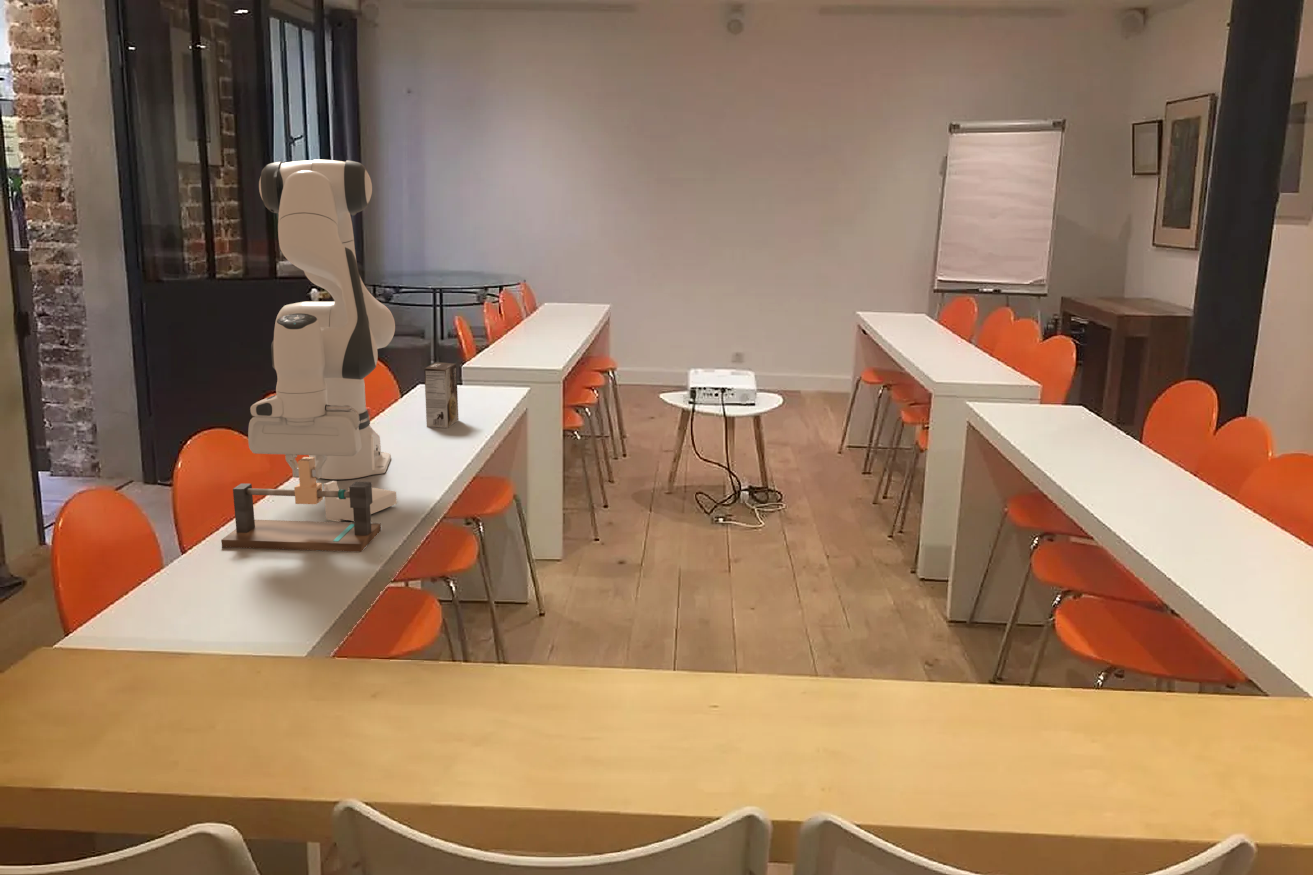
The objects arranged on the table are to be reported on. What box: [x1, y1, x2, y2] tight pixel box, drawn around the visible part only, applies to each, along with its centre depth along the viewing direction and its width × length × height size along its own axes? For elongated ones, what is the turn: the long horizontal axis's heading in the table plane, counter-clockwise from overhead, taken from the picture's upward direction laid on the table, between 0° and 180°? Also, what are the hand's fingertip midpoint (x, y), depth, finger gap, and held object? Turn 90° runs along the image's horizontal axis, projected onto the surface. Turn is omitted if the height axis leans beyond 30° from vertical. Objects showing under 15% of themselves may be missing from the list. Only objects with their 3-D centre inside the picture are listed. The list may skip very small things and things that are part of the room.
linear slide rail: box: [221, 481, 382, 553], centre depth 206 cm, size 12×26×11 cm, turn 86°
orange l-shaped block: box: [293, 456, 324, 505], centre depth 205 cm, size 3×4×8 cm
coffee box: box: [423, 361, 460, 429], centre depth 298 cm, size 9×6×16 cm
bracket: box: [323, 480, 398, 522], centre depth 223 cm, size 13×7×8 cm, turn 154°
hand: (307, 477), depth 204 cm, fingers closed on orange l-shaped block, 2 cm apart
